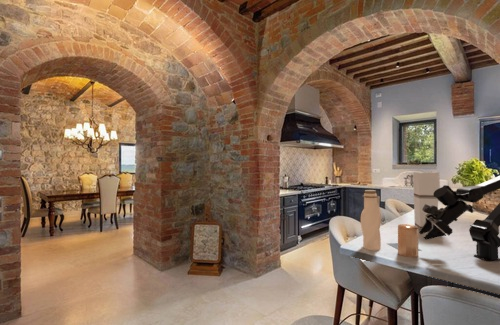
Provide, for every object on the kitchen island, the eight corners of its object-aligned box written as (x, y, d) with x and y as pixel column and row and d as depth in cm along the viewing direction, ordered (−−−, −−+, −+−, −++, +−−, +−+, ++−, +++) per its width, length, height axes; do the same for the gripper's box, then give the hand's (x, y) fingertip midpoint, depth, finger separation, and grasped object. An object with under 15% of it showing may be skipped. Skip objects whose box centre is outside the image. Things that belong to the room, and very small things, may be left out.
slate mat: (422, 251, 119) (422, 250, 119) (401, 252, 119) (401, 251, 119) (405, 243, 131) (405, 242, 131) (386, 244, 131) (386, 243, 131)
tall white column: (440, 231, 154) (439, 172, 154) (420, 229, 157) (418, 172, 157) (433, 226, 164) (432, 171, 165) (414, 225, 168) (413, 171, 168)
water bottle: (365, 243, 132) (363, 189, 133) (384, 246, 127) (382, 189, 127) (359, 248, 125) (357, 190, 125) (379, 252, 119) (377, 191, 119)
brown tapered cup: (422, 257, 112) (422, 228, 111) (405, 258, 111) (405, 229, 111) (410, 250, 119) (410, 223, 119) (394, 251, 119) (394, 224, 118)
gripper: (429, 195, 120) (403, 218, 124) (441, 201, 103) (410, 227, 107) (451, 213, 117) (423, 235, 121) (466, 222, 100) (433, 248, 104)
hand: (422, 236), depth 113 cm, fingers open, 9 cm apart
